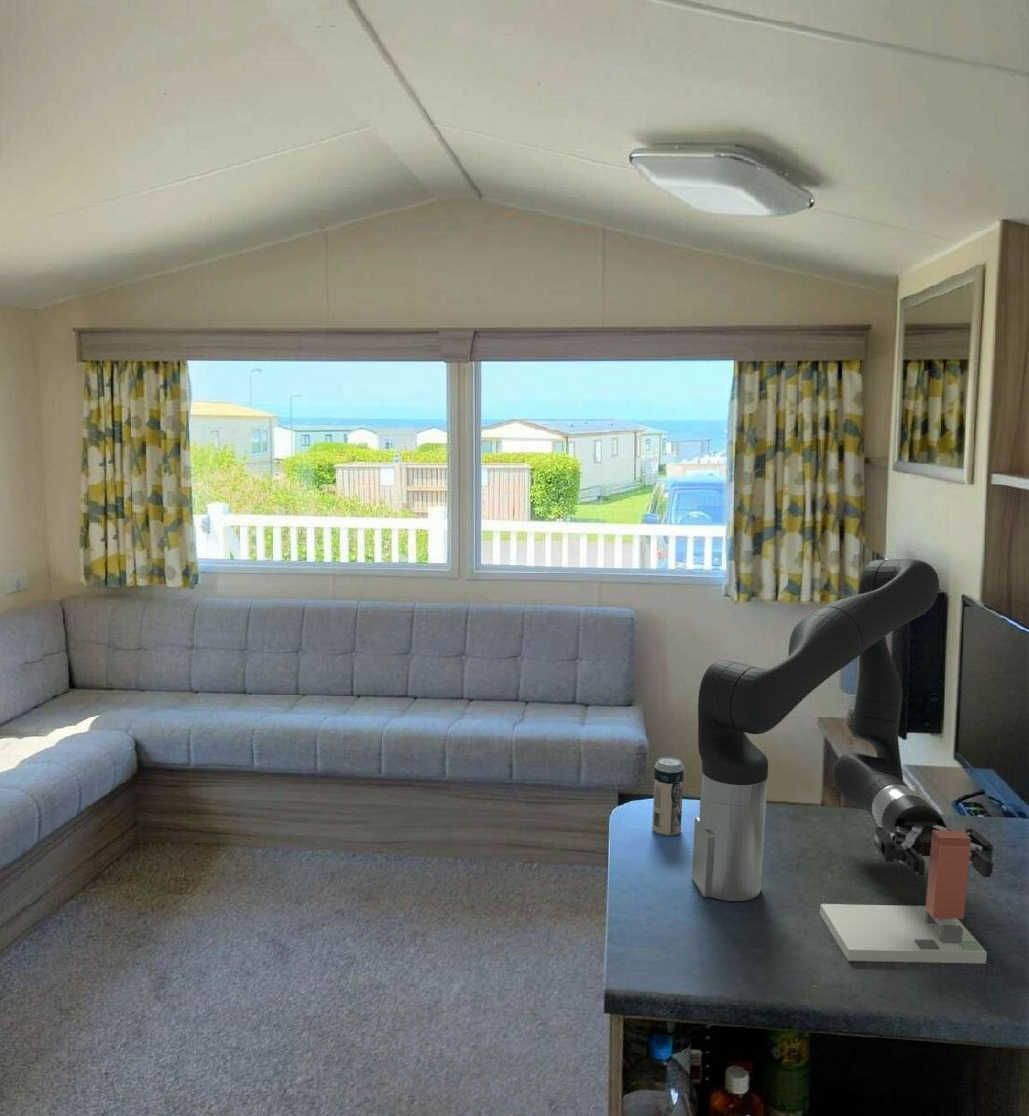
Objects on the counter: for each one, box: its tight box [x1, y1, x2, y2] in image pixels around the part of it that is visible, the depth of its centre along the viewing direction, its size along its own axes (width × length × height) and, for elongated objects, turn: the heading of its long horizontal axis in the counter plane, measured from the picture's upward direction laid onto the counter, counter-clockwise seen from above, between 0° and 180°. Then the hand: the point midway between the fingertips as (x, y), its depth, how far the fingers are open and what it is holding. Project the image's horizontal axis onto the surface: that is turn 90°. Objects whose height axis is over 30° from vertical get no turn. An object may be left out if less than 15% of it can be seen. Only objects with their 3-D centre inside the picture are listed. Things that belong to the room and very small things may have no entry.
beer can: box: [651, 756, 685, 837], centre depth 167 cm, size 5×5×12 cm
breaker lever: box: [925, 829, 971, 928], centre depth 133 cm, size 4×3×13 cm
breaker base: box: [819, 903, 988, 965], centre depth 135 cm, size 18×12×4 cm
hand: (955, 869), depth 131 cm, fingers open, 8 cm apart
